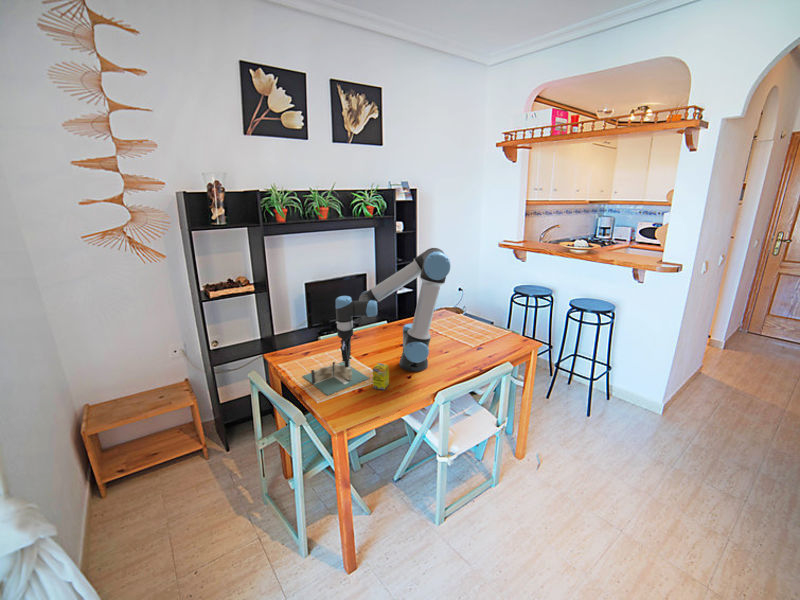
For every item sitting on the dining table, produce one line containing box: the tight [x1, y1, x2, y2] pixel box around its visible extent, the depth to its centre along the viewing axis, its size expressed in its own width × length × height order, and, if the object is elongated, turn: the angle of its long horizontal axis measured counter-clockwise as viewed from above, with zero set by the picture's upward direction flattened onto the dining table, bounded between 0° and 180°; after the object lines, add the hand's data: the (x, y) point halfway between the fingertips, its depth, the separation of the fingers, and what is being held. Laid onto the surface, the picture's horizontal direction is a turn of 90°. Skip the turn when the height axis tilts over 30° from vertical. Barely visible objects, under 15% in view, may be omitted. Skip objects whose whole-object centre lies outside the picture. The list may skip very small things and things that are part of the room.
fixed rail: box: [310, 364, 333, 385], centre depth 184 cm, size 11×2×7 cm, turn 131°
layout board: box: [302, 361, 370, 396], centre depth 188 cm, size 24×24×1 cm
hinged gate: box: [332, 361, 352, 380], centre depth 186 cm, size 11×2×7 cm, turn 59°
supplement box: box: [372, 362, 390, 392], centre depth 178 cm, size 6×6×11 cm
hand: (347, 371), depth 187 cm, fingers closed
